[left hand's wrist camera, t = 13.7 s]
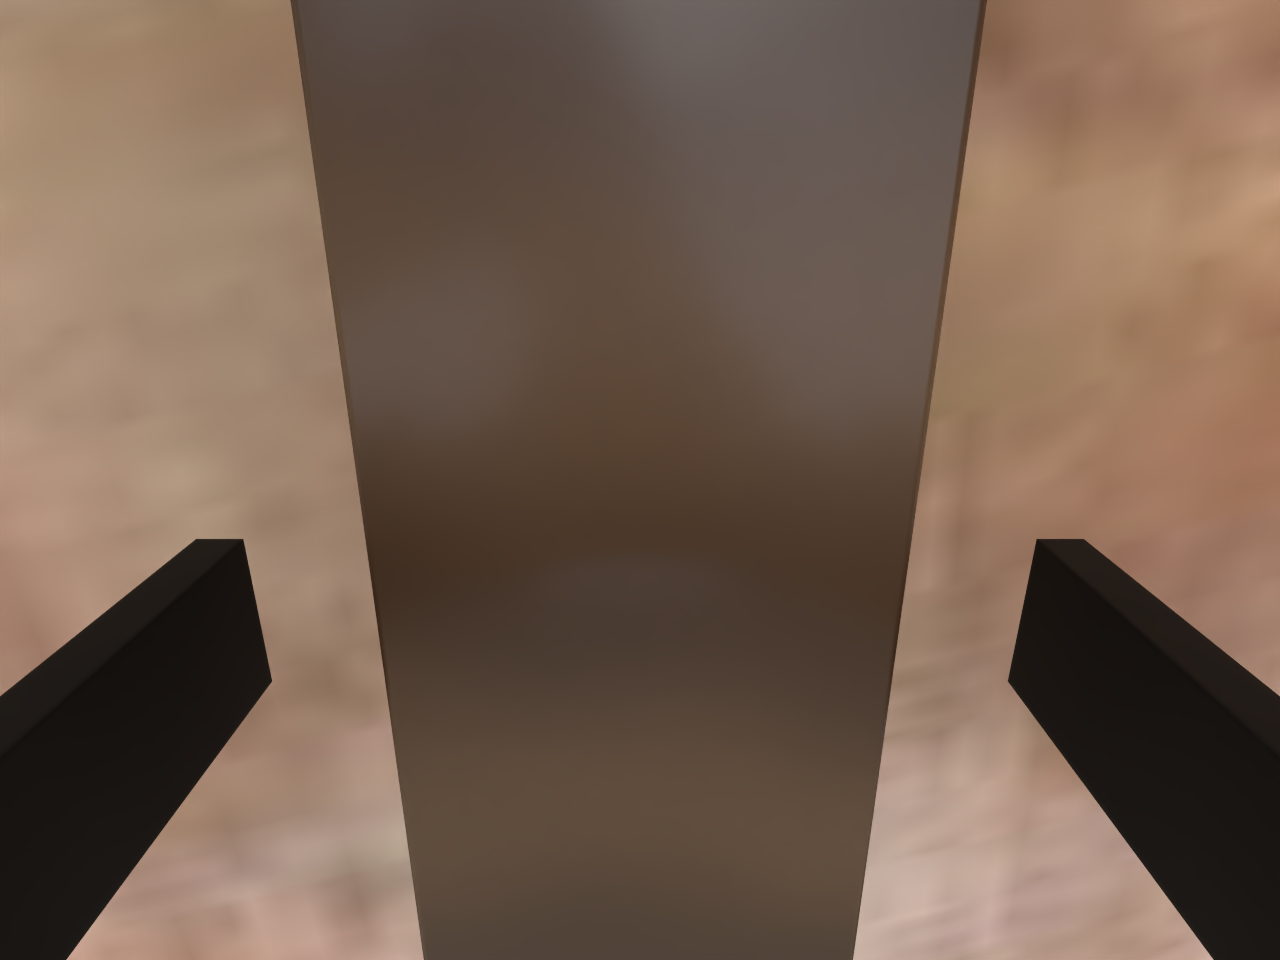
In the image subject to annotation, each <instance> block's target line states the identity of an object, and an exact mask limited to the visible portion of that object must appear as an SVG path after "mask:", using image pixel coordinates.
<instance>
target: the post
mask: <svg viewBox="0 0 1280 960" xmlns="http://www.w3.org/2000/svg"><path fill="white" fill-rule="evenodd" d="M986 3H987V0H291V6H292V13H293V20H294V27H295V34H296V42H297V49H298V56H299V63H300V70H301V78H302V85H303V92H304V99H305V106H306V114H307V121H308V128H309V135H310V142H311V150H312V157H313V164H314V171H315V178H316V186H317V193H318V200H319V207H320V214H321V222H322V229H323V236H324V243H325V250H326V258H327V265H328V272H329V279H330V286H331V294H332V301H333V308H334V315H335V322H336V330H337V337H338V344H339V351H340V358H341V366H342V373H343V380H344V387H345V395H346V402H347V409H348V416H349V423H350V431H351V438H352V445H353V452H354V459H355V467H356V474H357V481H358V488H359V495H360V503H361V510H362V517H363V524H364V531H365V539H366V546H367V553H368V560H369V567H370V575H371V582H372V589H373V596H374V603H375V611H376V618H377V625H378V632H379V639H380V647H381V654H382V661H383V668H384V675H385V683H386V690H387V697H388V704H389V711H390V719H391V726H392V733H393V740H394V747H395V755H396V762H397V769H398V776H399V783H400V791H401V798H402V805H403V812H404V819H405V827H406V834H407V841H408V848H409V855H410V863H411V870H412V877H413V884H414V891H415V899H416V906H417V913H418V920H419V927H420V935H421V942H422V949H423V956H424V960H853V955H854V948H855V941H856V933H857V926H858V919H859V912H860V905H861V898H862V891H863V883H864V876H865V869H866V862H867V855H868V848H869V840H870V833H871V826H872V819H873V812H874V805H875V797H876V790H877V783H878V776H879V769H880V762H881V754H882V747H883V740H884V733H885V726H886V719H887V712H888V704H889V697H890V690H891V683H892V676H893V669H894V661H895V654H896V647H897V640H898V633H899V626H900V618H901V611H902V604H903V597H904V590H905V583H906V575H907V568H908V561H909V554H910V547H911V540H912V533H913V525H914V518H915V511H916V504H917V497H918V490H919V482H920V475H921V468H922V461H923V454H924V447H925V439H926V432H927V425H928V418H929V411H930V404H931V396H932V389H933V382H934V375H935V368H936V361H937V354H938V346H939V339H940V332H941V325H942V318H943V311H944V303H945V296H946V289H947V282H948V275H949V268H950V260H951V253H952V246H953V239H954V232H955V225H956V217H957V210H958V203H959V196H960V189H961V182H962V175H963V167H964V160H965V153H966V146H967V139H968V132H969V124H970V117H971V110H972V103H973V96H974V89H975V81H976V74H977V67H978V60H979V53H980V46H981V38H982V31H983V24H984V17H985V10H986Z"/></svg>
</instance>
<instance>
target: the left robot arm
mask: <svg viewBox="0 0 1280 960" xmlns="http://www.w3.org/2000/svg"><path fill="white" fill-rule="evenodd" d="M271 682H272V678H271V674H270V669H269V664H268V659H267V654H266V649H265V644H264V639H263V634H262V629H261V624H260V619H259V614H258V610H257V605H256V600H255V595H254V590H253V585H252V580H251V575H250V570H249V565H248V560H247V555H246V550H245V546H244V541H243V539H196V540H195V541H193V542H192V543H191V544H190V545H188V546H187V547H186V548H185V549H183V550H182V551H181V552H180V553H178V554H177V555H176V556H175V557H173V558H172V559H171V560H170V561H168V562H167V563H166V564H165V565H163V566H162V567H161V568H160V569H158V570H157V571H156V572H155V573H153V574H152V575H151V576H150V577H148V578H147V579H146V580H145V581H143V582H142V583H141V584H140V585H138V586H137V587H136V588H135V589H133V590H132V591H131V592H130V593H129V594H127V595H126V596H125V597H124V598H122V599H121V600H120V601H119V602H117V603H116V604H115V605H114V606H112V607H111V608H110V609H109V610H107V611H106V612H105V613H104V614H102V615H101V616H100V617H99V618H97V619H96V620H95V621H94V622H92V623H91V624H90V625H89V626H87V627H86V628H85V629H84V630H82V631H81V632H80V633H79V634H77V635H76V636H75V637H74V638H72V639H71V640H70V641H69V642H67V643H66V644H65V645H64V646H62V647H61V648H60V649H59V650H57V651H56V652H55V653H54V654H52V655H51V656H50V657H49V658H48V659H46V660H45V661H44V662H43V663H41V664H40V665H39V666H38V667H36V668H35V669H34V670H33V671H31V672H30V673H29V674H28V675H26V676H25V677H24V678H23V679H21V680H20V681H19V682H18V683H16V684H15V685H14V686H13V687H11V688H10V689H9V690H8V691H6V692H5V693H4V694H3V695H1V696H0V960H66V959H67V958H68V957H69V955H70V954H71V953H72V951H73V950H74V949H75V947H76V946H77V944H78V943H79V942H80V940H81V939H82V938H83V936H84V935H85V934H86V932H87V931H88V930H89V928H90V927H91V926H92V924H93V923H94V921H95V920H96V919H97V917H98V916H99V915H100V913H101V912H102V911H103V909H104V908H105V907H106V905H107V904H108V903H109V901H110V900H111V898H112V897H113V896H114V894H115V893H116V892H117V890H118V889H119V888H120V886H121V885H122V884H123V882H124V881H125V880H126V878H127V877H128V875H129V874H130V873H131V871H132V870H133V869H134V867H135V866H136V865H137V863H138V862H139V861H140V859H141V858H142V857H143V855H144V854H145V852H146V851H147V850H148V848H149V847H150V846H151V844H152V843H153V842H154V840H155V839H156V838H157V836H158V835H159V833H160V832H161V831H162V829H163V828H164V827H165V825H166V824H167V823H168V821H169V820H170V819H171V817H172V816H173V815H174V813H175V812H176V810H177V809H178V808H179V806H180V805H181V804H182V802H183V801H184V800H185V798H186V797H187V796H188V794H189V793H190V792H191V790H192V789H193V787H194V786H195V785H196V783H197V782H198V781H199V779H200V778H201V777H202V775H203V774H204V773H205V771H206V770H207V769H208V767H209V766H210V764H211V763H212V762H213V760H214V759H215V758H216V756H217V755H218V754H219V752H220V751H221V750H222V748H223V747H224V746H225V744H226V743H227V741H228V740H229V739H230V737H231V736H232V735H233V733H234V732H235V731H236V729H237V728H238V727H239V725H240V724H241V722H242V721H243V720H244V718H245V717H246V716H247V714H248V713H249V712H250V710H251V709H252V708H253V706H254V705H255V704H256V702H257V701H258V699H259V698H260V697H261V695H262V694H263V693H264V691H265V690H266V689H267V687H268V686H269V685H270V683H271ZM1008 682H1009V683H1010V685H1011V686H1012V687H1013V689H1014V690H1015V691H1016V693H1017V694H1018V695H1019V697H1020V698H1021V700H1022V701H1023V702H1024V704H1025V705H1026V706H1027V708H1028V709H1029V710H1030V712H1031V713H1032V714H1033V716H1034V717H1035V718H1036V720H1037V721H1038V723H1039V724H1040V725H1041V727H1042V728H1043V729H1044V731H1045V732H1046V733H1047V735H1048V736H1049V737H1050V739H1051V740H1052V741H1053V743H1054V744H1055V746H1056V747H1057V748H1058V750H1059V751H1060V752H1061V754H1062V755H1063V756H1064V758H1065V759H1066V760H1067V762H1068V763H1069V764H1070V766H1071V767H1072V769H1073V770H1074V771H1075V773H1076V774H1077V775H1078V777H1079V778H1080V779H1081V781H1082V782H1083V783H1084V785H1085V786H1086V787H1087V789H1088V790H1089V792H1090V793H1091V794H1092V796H1093V797H1094V798H1095V800H1096V801H1097V802H1098V804H1099V805H1100V806H1101V808H1102V809H1103V811H1104V812H1105V813H1106V815H1107V816H1108V817H1109V819H1110V820H1111V821H1112V823H1113V824H1114V825H1115V827H1116V828H1117V829H1118V831H1119V832H1120V834H1121V835H1122V836H1123V838H1124V839H1125V840H1126V842H1127V843H1128V844H1129V846H1130V847H1131V848H1132V850H1133V851H1134V852H1135V854H1136V855H1137V857H1138V858H1139V859H1140V861H1141V862H1142V863H1143V865H1144V866H1145V867H1146V869H1147V870H1148V871H1149V873H1150V874H1151V875H1152V877H1153V878H1154V880H1155V881H1156V882H1157V884H1158V885H1159V886H1160V888H1161V889H1162V890H1163V892H1164V893H1165V894H1166V896H1167V897H1168V898H1169V900H1170V901H1171V903H1172V904H1173V905H1174V907H1175V908H1176V909H1177V911H1178V912H1179V913H1180V915H1181V916H1182V917H1183V919H1184V920H1185V922H1186V923H1187V924H1188V926H1189V927H1190V928H1191V930H1192V931H1193V932H1194V934H1195V935H1196V936H1197V938H1198V939H1199V940H1200V942H1201V943H1202V945H1203V946H1204V947H1205V949H1206V950H1207V951H1208V953H1209V954H1210V955H1211V957H1212V958H1213V959H1214V960H1280V696H1279V695H1277V694H1276V693H1275V692H1274V691H1272V690H1271V689H1270V688H1269V687H1267V686H1266V685H1265V684H1264V683H1262V682H1261V681H1260V680H1259V679H1257V678H1256V677H1255V676H1254V675H1252V674H1251V673H1250V672H1249V671H1247V670H1246V669H1245V668H1244V667H1242V666H1241V665H1240V664H1239V663H1237V662H1236V661H1235V660H1234V659H1232V658H1231V657H1230V656H1229V655H1227V654H1226V653H1225V652H1224V651H1223V650H1221V649H1220V648H1219V647H1218V646H1216V645H1215V644H1214V643H1213V642H1211V641H1210V640H1209V639H1208V638H1206V637H1205V636H1204V635H1203V634H1201V633H1200V632H1199V631H1198V630H1196V629H1195V628H1194V627H1193V626H1191V625H1190V624H1189V623H1188V622H1186V621H1185V620H1184V619H1183V618H1181V617H1180V616H1179V615H1178V614H1176V613H1175V612H1174V611H1173V610H1171V609H1170V608H1169V607H1168V606H1166V605H1165V604H1164V603H1163V602H1161V601H1160V600H1159V599H1158V598H1156V597H1155V596H1154V595H1153V594H1151V593H1150V592H1149V591H1148V590H1146V589H1145V588H1144V587H1143V586H1141V585H1140V584H1139V583H1138V582H1137V581H1135V580H1134V579H1133V578H1132V577H1130V576H1129V575H1128V574H1127V573H1125V572H1124V571H1123V570H1122V569H1120V568H1119V567H1118V566H1117V565H1115V564H1114V563H1113V562H1112V561H1110V560H1109V559H1108V558H1107V557H1105V556H1104V555H1103V554H1102V553H1100V552H1099V551H1098V550H1097V549H1095V548H1094V547H1093V546H1092V545H1090V544H1089V543H1088V542H1087V541H1085V540H1084V539H1037V541H1036V545H1035V550H1034V555H1033V560H1032V565H1031V570H1030V575H1029V580H1028V585H1027V590H1026V595H1025V600H1024V605H1023V609H1022V614H1021V619H1020V624H1019V629H1018V634H1017V639H1016V644H1015V649H1014V654H1013V659H1012V664H1011V669H1010V673H1009V678H1008Z"/></svg>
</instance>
